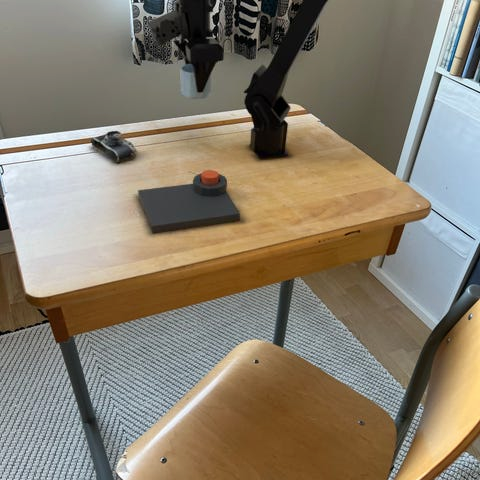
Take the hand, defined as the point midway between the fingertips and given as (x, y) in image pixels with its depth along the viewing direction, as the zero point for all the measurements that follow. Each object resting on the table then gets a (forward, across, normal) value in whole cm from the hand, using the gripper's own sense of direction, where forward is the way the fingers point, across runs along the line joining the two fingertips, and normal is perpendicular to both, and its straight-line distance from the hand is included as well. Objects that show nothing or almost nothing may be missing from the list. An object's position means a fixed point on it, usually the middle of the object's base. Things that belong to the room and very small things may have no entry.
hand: (195, 86), depth 103 cm
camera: (+11, +3, -18) cm, 21 cm away
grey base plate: (+11, +28, -9) cm, 31 cm away
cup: (+2, 0, 0) cm, 2 cm away
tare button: (+8, +24, -4) cm, 26 cm away
